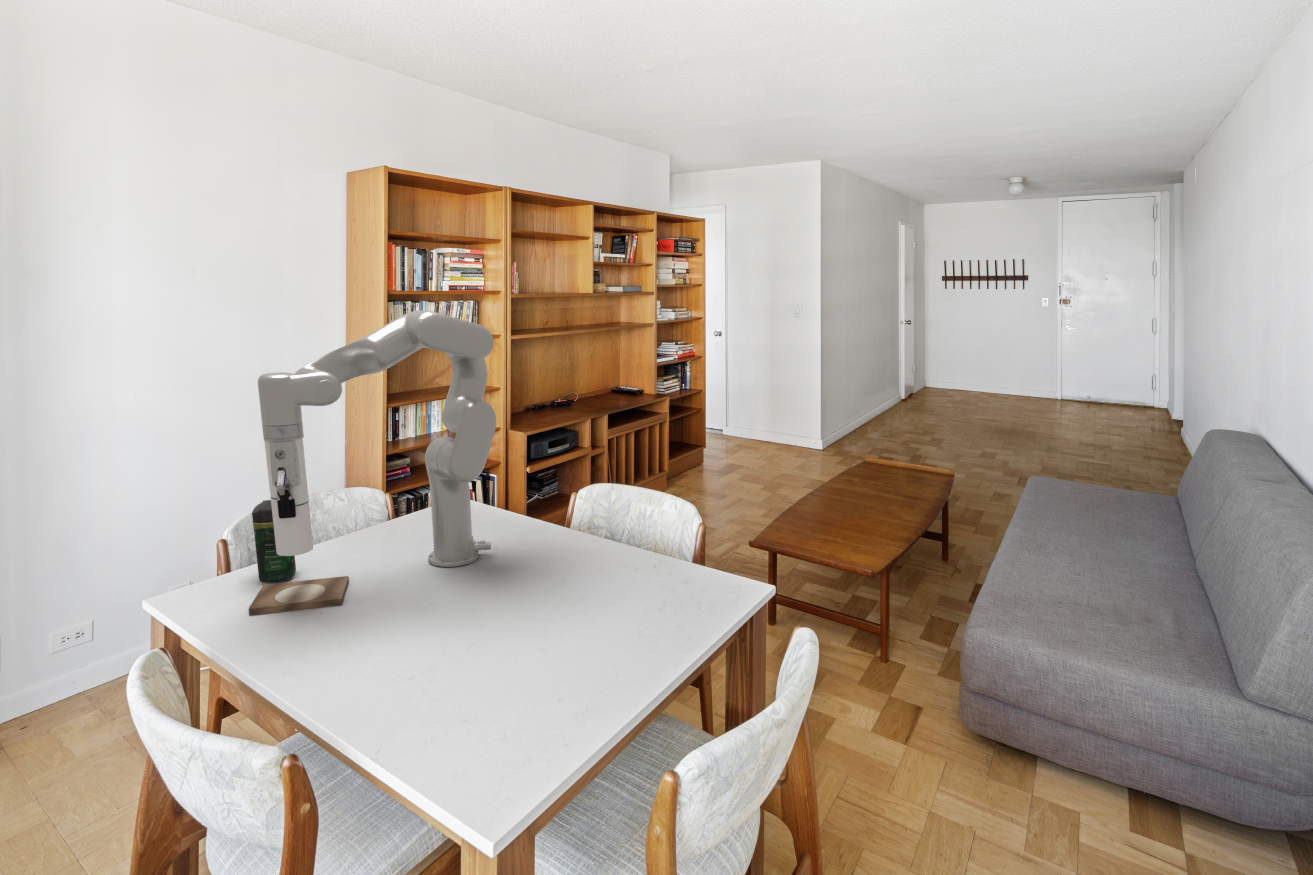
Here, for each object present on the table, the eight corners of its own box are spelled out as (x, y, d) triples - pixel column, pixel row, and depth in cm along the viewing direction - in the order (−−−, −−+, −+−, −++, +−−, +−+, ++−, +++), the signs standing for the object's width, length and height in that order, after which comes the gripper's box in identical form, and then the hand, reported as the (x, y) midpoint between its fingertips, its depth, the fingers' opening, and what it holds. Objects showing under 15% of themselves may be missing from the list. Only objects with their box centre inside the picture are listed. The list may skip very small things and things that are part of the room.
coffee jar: (295, 581, 165) (287, 506, 161) (257, 586, 162) (248, 510, 158) (298, 567, 173) (290, 495, 170) (262, 571, 170) (253, 498, 166)
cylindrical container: (285, 544, 156) (273, 435, 151) (318, 543, 156) (307, 434, 151) (270, 556, 149) (258, 441, 144) (305, 555, 149) (294, 441, 144)
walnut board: (349, 581, 164) (348, 575, 164) (341, 604, 152) (341, 598, 152) (263, 590, 159) (263, 584, 159) (249, 615, 147) (248, 608, 147)
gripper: (295, 438, 140) (303, 522, 144) (310, 423, 156) (317, 499, 160) (253, 440, 138) (262, 526, 141) (272, 425, 154) (280, 502, 158)
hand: (291, 511), depth 151 cm, fingers closed on cylindrical container, 7 cm apart
